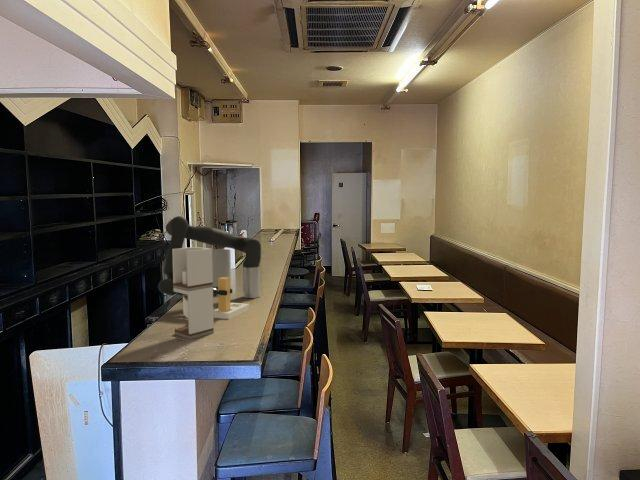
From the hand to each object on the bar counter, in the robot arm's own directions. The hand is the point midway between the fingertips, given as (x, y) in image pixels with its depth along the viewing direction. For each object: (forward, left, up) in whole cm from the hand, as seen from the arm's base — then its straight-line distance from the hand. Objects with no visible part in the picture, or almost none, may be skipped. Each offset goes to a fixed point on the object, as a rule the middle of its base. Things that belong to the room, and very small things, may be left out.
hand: (229, 292), depth 212 cm
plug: (0, -3, -8) cm, 9 cm away
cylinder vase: (-48, -34, -12) cm, 60 cm away
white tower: (+28, -1, -12) cm, 30 cm away
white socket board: (-5, -3, -12) cm, 13 cm away
